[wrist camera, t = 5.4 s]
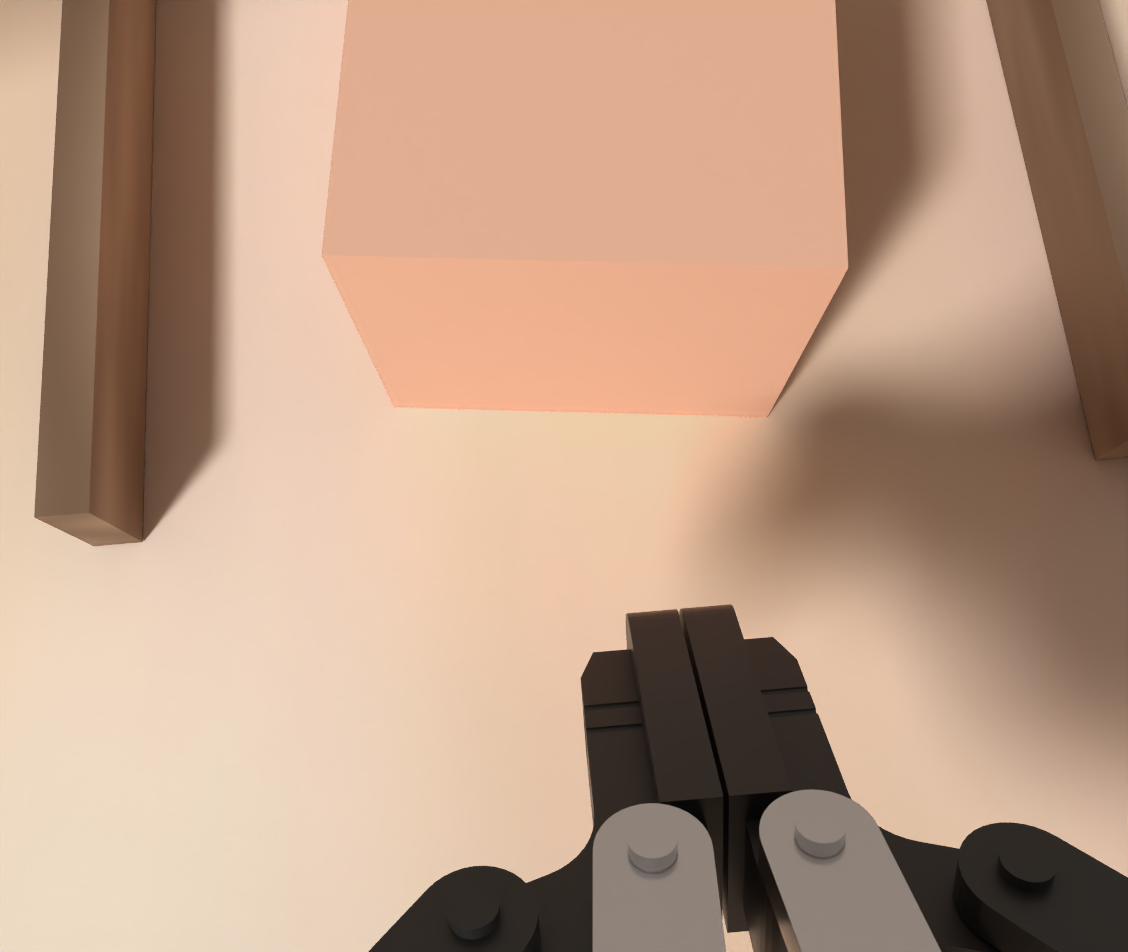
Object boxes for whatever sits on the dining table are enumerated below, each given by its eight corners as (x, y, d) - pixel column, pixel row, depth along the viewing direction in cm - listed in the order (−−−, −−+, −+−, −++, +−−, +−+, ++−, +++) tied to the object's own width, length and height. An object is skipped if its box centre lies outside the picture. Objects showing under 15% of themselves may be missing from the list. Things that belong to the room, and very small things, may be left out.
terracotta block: (395, 409, 23) (321, 255, 16) (431, -47, 26) (383, -334, 19) (765, 419, 23) (848, 268, 16) (754, -40, 26) (819, -327, 19)
